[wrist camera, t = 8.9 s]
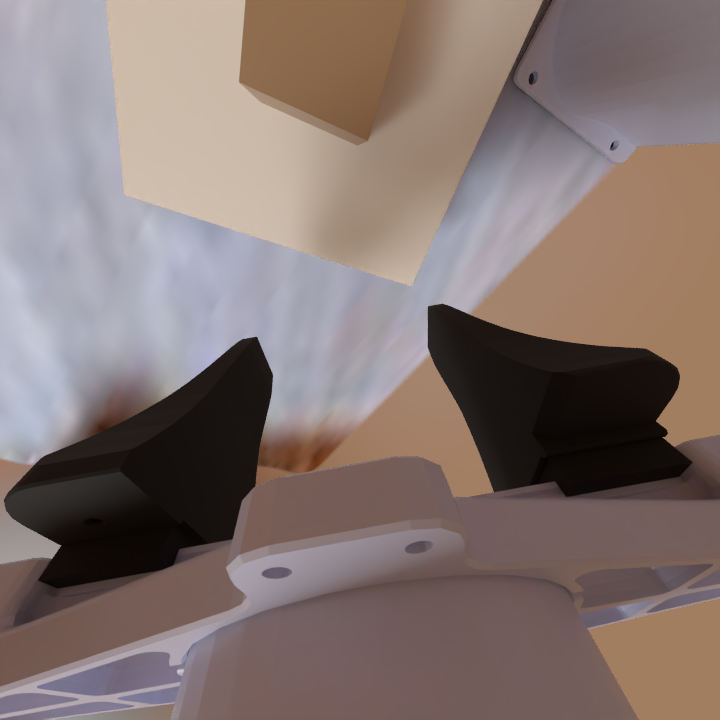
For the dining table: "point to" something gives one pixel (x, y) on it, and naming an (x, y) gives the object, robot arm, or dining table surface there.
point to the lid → (311, 115)
